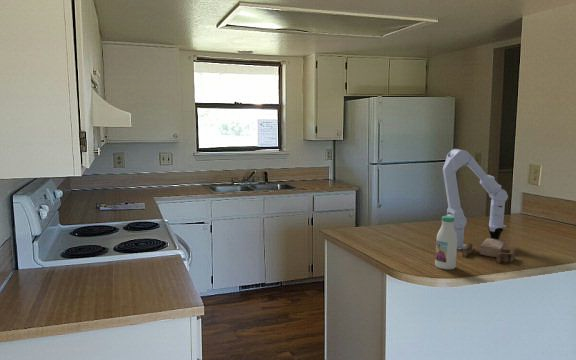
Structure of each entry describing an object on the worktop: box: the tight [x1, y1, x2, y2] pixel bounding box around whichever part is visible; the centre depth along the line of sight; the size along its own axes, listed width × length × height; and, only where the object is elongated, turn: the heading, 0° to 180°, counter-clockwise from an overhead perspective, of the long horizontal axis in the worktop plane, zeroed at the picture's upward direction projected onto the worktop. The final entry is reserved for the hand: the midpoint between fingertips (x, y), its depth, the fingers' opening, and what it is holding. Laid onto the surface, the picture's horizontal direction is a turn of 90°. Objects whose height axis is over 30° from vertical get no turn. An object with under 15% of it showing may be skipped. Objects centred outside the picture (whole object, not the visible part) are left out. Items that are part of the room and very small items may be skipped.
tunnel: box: [461, 243, 516, 264], centre depth 186 cm, size 18×11×4 cm, turn 52°
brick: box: [479, 237, 507, 258], centre depth 194 cm, size 17×8×5 cm, turn 146°
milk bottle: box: [434, 215, 458, 270], centre depth 173 cm, size 8×8×20 cm
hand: (494, 244), depth 202 cm, fingers closed
